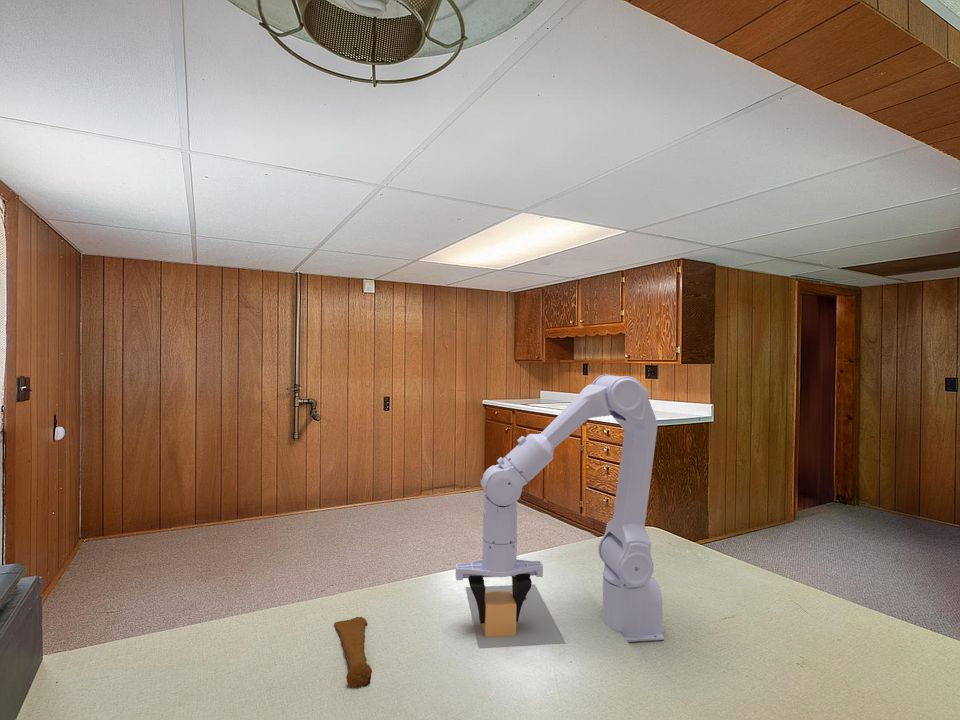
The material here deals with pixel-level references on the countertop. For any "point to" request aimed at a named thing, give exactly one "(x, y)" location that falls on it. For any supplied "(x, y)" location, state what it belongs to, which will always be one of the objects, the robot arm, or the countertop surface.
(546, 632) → the board
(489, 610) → the wooden cube
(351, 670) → the primitive tool
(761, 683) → the countertop surface
